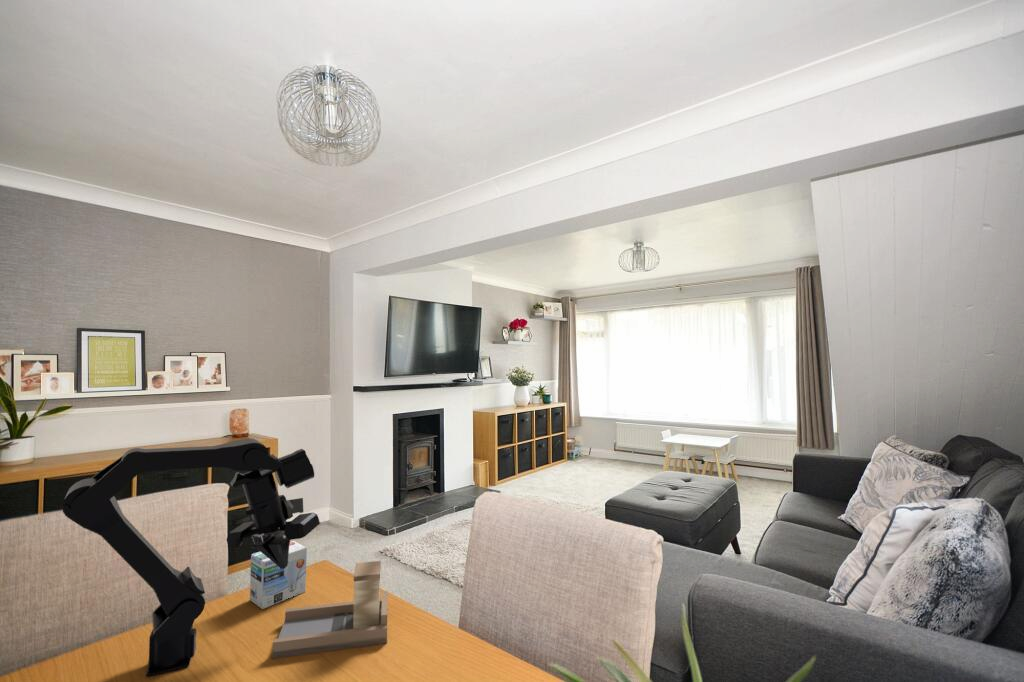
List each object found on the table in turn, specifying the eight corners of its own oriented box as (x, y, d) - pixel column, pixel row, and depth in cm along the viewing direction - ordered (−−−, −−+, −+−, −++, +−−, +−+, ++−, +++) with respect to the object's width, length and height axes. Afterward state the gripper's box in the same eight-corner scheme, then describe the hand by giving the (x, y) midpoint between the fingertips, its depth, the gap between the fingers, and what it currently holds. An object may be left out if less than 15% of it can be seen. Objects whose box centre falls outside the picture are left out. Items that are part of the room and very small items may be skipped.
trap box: (272, 658, 90) (273, 632, 90) (286, 623, 101) (286, 599, 101) (386, 643, 95) (387, 617, 95) (387, 610, 106) (387, 588, 107)
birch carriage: (352, 631, 96) (353, 576, 96) (354, 614, 102) (355, 563, 102) (379, 627, 97) (380, 573, 98) (379, 611, 103) (380, 560, 104)
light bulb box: (262, 610, 106) (263, 562, 106) (248, 600, 110) (249, 554, 110) (307, 591, 115) (308, 546, 115) (292, 582, 119) (293, 539, 119)
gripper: (324, 475, 104) (343, 541, 105) (254, 487, 108) (273, 550, 110) (291, 499, 93) (313, 572, 94) (215, 511, 97) (237, 580, 99)
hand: (284, 567), depth 100 cm, fingers closed
